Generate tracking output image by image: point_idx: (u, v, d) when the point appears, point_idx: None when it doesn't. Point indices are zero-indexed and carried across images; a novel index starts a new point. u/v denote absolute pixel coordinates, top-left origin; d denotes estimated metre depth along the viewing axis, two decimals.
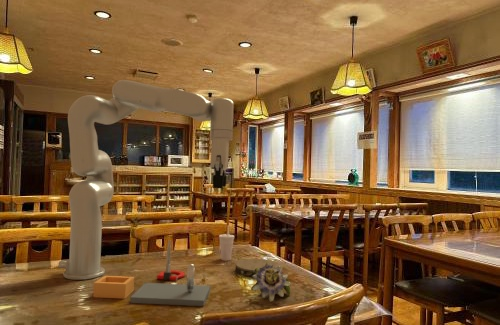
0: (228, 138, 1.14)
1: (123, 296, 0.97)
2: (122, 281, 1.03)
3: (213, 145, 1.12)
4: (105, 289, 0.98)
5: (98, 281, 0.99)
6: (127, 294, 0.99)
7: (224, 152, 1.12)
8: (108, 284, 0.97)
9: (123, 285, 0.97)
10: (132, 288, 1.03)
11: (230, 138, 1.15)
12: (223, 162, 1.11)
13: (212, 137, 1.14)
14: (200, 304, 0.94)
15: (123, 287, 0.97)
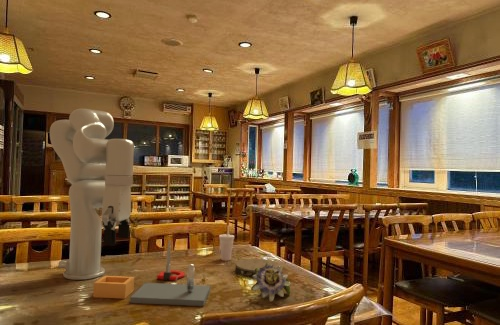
0: (124, 185, 0.99)
1: (123, 296, 0.97)
2: (122, 281, 1.03)
3: (105, 194, 0.97)
4: (105, 289, 0.98)
5: (98, 281, 0.99)
6: (127, 294, 0.99)
7: (117, 202, 0.96)
8: (108, 284, 0.97)
9: (123, 285, 0.97)
10: (132, 288, 1.03)
11: (127, 185, 0.99)
12: (116, 214, 0.96)
13: (106, 184, 0.99)
14: (200, 304, 0.94)
15: (123, 287, 0.97)
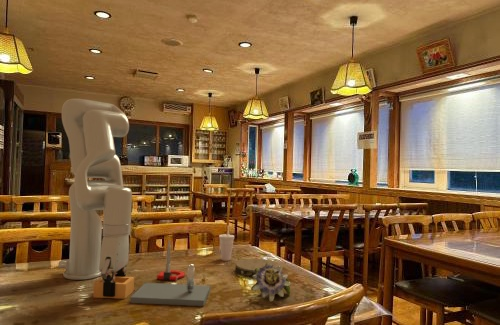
0: (122, 234, 0.98)
1: (123, 296, 0.97)
2: (122, 281, 1.03)
3: (102, 244, 0.96)
4: None
5: (98, 281, 0.99)
6: (127, 294, 0.99)
7: (115, 253, 0.96)
8: None
9: (123, 285, 0.97)
10: (132, 288, 1.03)
11: (125, 234, 0.99)
12: (113, 265, 0.96)
13: (103, 233, 0.98)
14: (200, 304, 0.94)
15: (123, 287, 0.97)
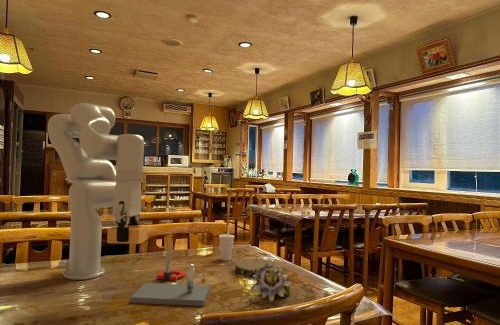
0: (135, 180, 0.98)
1: (137, 241, 0.97)
2: None
3: (116, 189, 0.97)
4: None
5: (111, 228, 0.99)
6: (140, 240, 0.99)
7: (128, 197, 0.96)
8: None
9: (136, 230, 0.97)
10: (145, 236, 1.02)
11: (138, 180, 0.99)
12: (127, 209, 0.96)
13: (116, 179, 0.99)
14: (200, 304, 0.94)
15: (136, 232, 0.97)
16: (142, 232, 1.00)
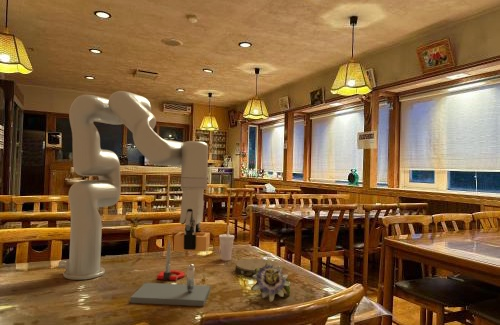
0: (202, 188, 0.98)
1: (204, 249, 0.97)
2: None
3: (183, 197, 0.96)
4: None
5: (177, 235, 0.98)
6: (206, 248, 0.98)
7: (196, 205, 0.96)
8: None
9: (204, 238, 0.97)
10: (208, 243, 1.02)
11: (204, 187, 0.99)
12: (195, 217, 0.95)
13: (183, 187, 0.98)
14: (200, 304, 0.94)
15: (204, 240, 0.97)
16: (207, 239, 0.99)
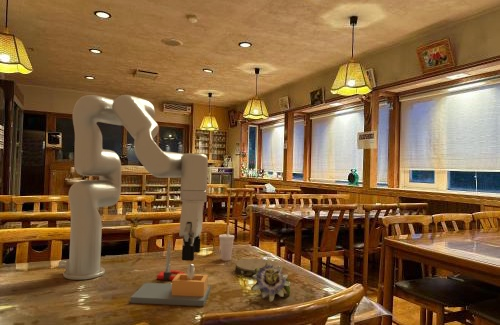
0: (201, 200, 0.98)
1: (202, 294, 0.97)
2: (196, 279, 1.02)
3: (183, 210, 0.96)
4: (183, 287, 0.97)
5: (175, 279, 0.98)
6: (204, 292, 0.98)
7: (195, 218, 0.96)
8: (186, 282, 0.97)
9: (201, 283, 0.97)
10: (206, 286, 1.02)
11: (203, 200, 0.99)
12: (194, 230, 0.95)
13: (182, 199, 0.98)
14: (200, 304, 0.94)
15: (201, 285, 0.97)
16: (205, 283, 0.99)
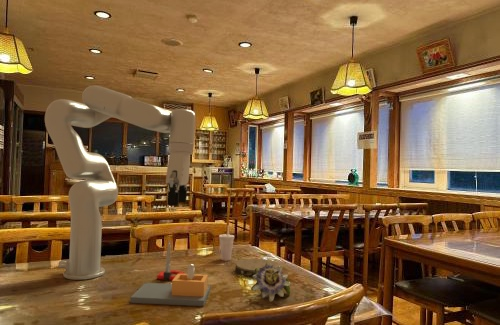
0: (187, 152, 1.06)
1: (202, 294, 0.97)
2: (196, 279, 1.02)
3: (169, 159, 1.05)
4: (183, 287, 0.97)
5: (175, 279, 0.98)
6: (204, 292, 0.98)
7: (181, 167, 1.04)
8: (186, 282, 0.97)
9: (201, 283, 0.97)
10: (206, 286, 1.02)
11: (189, 152, 1.07)
12: (179, 178, 1.04)
13: (170, 150, 1.07)
14: (200, 304, 0.94)
15: (201, 285, 0.97)
16: (205, 283, 0.99)
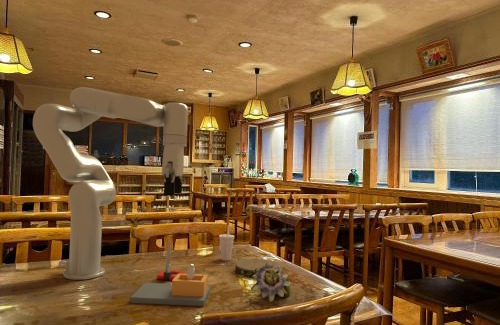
0: (181, 144, 1.11)
1: (202, 294, 0.97)
2: (196, 279, 1.02)
3: (164, 151, 1.09)
4: (183, 287, 0.97)
5: (175, 279, 0.98)
6: (204, 292, 0.98)
7: (176, 158, 1.08)
8: (186, 282, 0.97)
9: (201, 283, 0.97)
10: (206, 286, 1.02)
11: (183, 144, 1.11)
12: (174, 168, 1.08)
13: (164, 143, 1.11)
14: (200, 304, 0.94)
15: (201, 285, 0.97)
16: (205, 283, 0.99)
